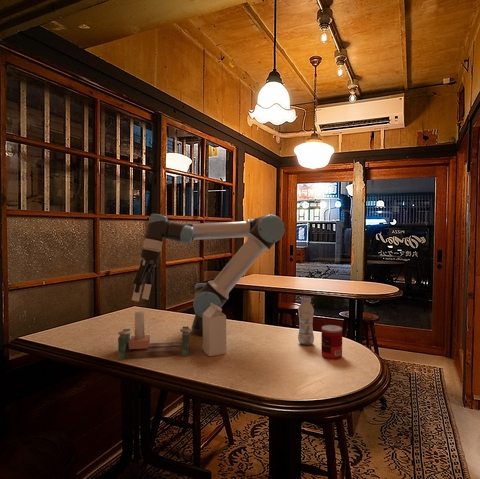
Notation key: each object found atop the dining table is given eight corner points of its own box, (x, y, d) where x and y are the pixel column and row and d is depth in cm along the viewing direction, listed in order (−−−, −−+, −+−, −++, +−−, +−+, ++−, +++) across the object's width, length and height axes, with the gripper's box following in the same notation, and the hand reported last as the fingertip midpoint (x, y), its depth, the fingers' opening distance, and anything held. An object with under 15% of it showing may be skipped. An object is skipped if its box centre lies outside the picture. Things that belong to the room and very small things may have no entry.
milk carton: (209, 356, 134) (209, 307, 133) (202, 351, 140) (202, 303, 139) (226, 353, 137) (226, 305, 136) (218, 348, 143) (218, 302, 143)
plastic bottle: (314, 347, 145) (314, 298, 144) (297, 346, 146) (297, 298, 145) (314, 342, 151) (314, 295, 150) (298, 341, 152) (298, 295, 152)
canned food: (343, 354, 136) (343, 326, 136) (340, 361, 129) (340, 331, 129) (323, 351, 140) (323, 324, 139) (319, 358, 132) (319, 329, 132)
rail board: (191, 345, 147) (190, 325, 147) (191, 355, 135) (191, 333, 135) (121, 348, 143) (121, 328, 143) (115, 359, 131) (115, 337, 131)
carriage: (149, 342, 142) (149, 310, 142) (147, 348, 135) (147, 314, 135) (131, 343, 141) (131, 311, 141) (129, 349, 134) (128, 315, 134)
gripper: (150, 251, 162) (140, 296, 159) (133, 245, 137) (121, 299, 135) (166, 254, 161) (156, 300, 159) (152, 249, 137) (140, 303, 134)
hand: (140, 300), depth 147 cm, fingers open, 13 cm apart
